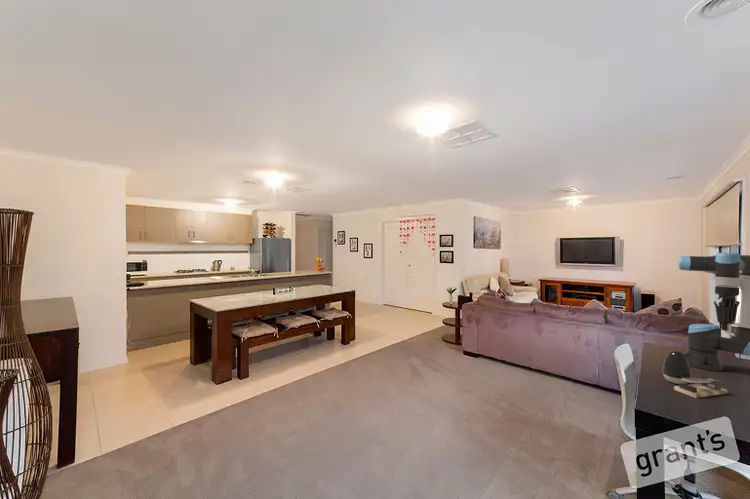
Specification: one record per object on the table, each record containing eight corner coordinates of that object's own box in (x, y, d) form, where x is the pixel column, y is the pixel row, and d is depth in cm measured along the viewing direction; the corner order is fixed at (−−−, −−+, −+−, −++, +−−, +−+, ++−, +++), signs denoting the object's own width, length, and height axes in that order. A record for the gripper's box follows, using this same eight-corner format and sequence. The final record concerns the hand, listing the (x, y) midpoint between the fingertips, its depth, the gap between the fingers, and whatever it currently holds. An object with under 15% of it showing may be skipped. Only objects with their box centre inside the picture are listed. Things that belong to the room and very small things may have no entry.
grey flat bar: (707, 380, 145) (707, 377, 145) (716, 383, 141) (717, 380, 141) (681, 380, 140) (681, 377, 140) (690, 383, 137) (690, 380, 137)
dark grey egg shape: (697, 388, 145) (698, 355, 145) (671, 385, 147) (672, 353, 147) (681, 379, 155) (681, 348, 155) (656, 377, 157) (657, 346, 157)
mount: (704, 385, 147) (704, 374, 147) (727, 393, 140) (727, 381, 140) (674, 389, 142) (674, 377, 142) (695, 397, 135) (696, 385, 135)
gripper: (725, 285, 149) (725, 334, 149) (706, 285, 146) (705, 335, 146) (748, 287, 142) (747, 338, 142) (728, 287, 139) (727, 340, 139)
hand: (726, 337), depth 144 cm, fingers closed
